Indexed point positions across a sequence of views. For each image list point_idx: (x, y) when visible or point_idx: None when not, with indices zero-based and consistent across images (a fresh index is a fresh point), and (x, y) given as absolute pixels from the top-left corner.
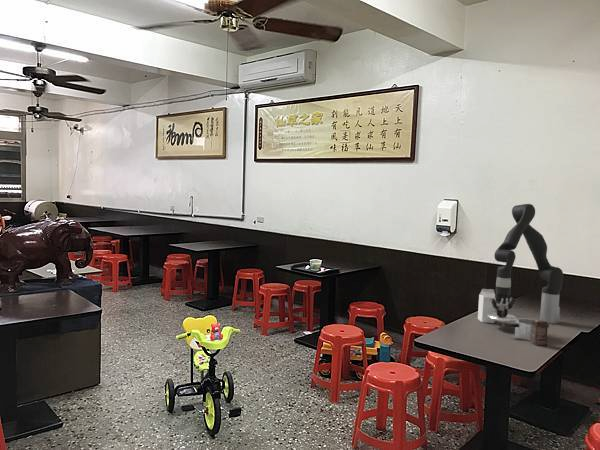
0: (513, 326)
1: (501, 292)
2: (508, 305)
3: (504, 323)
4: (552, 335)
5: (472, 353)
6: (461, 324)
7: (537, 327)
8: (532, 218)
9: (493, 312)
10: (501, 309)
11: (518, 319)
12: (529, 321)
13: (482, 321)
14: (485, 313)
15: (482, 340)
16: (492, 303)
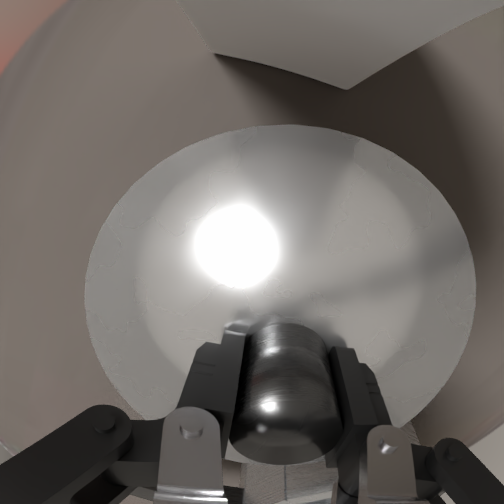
0: None
1: None
2: (450, 487)
3: (134, 491)
4: (469, 417)
5: (8, 446)
6: (4, 123)
7: None
8: None
9: (370, 50)
10: (309, 411)
11: (308, 501)
12: None
13: (212, 49)
14: (228, 18)
15: (37, 410)
16: (18, 482)
